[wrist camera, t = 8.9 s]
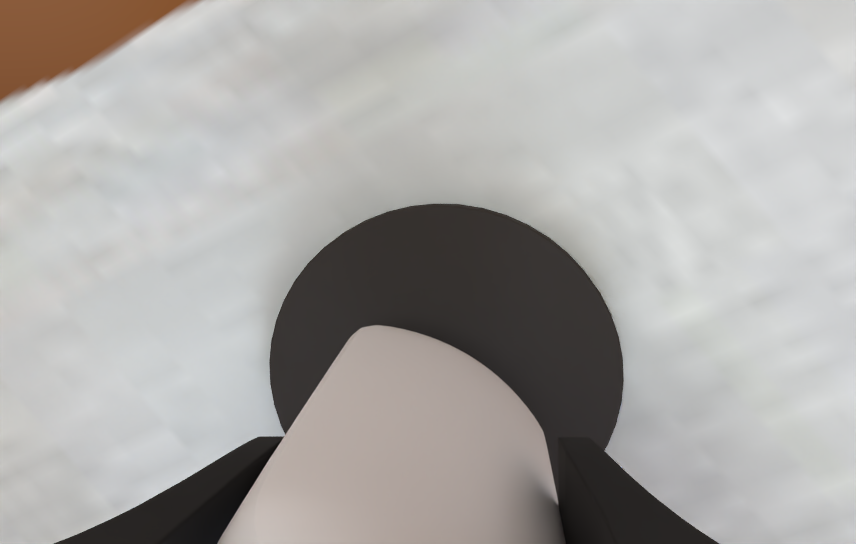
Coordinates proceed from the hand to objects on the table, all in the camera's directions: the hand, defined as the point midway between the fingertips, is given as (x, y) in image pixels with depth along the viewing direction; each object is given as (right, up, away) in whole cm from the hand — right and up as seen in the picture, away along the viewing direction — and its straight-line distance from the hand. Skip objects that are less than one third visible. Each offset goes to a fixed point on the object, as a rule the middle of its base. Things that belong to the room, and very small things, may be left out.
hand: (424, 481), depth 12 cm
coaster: (0, +1, +5) cm, 5 cm away
